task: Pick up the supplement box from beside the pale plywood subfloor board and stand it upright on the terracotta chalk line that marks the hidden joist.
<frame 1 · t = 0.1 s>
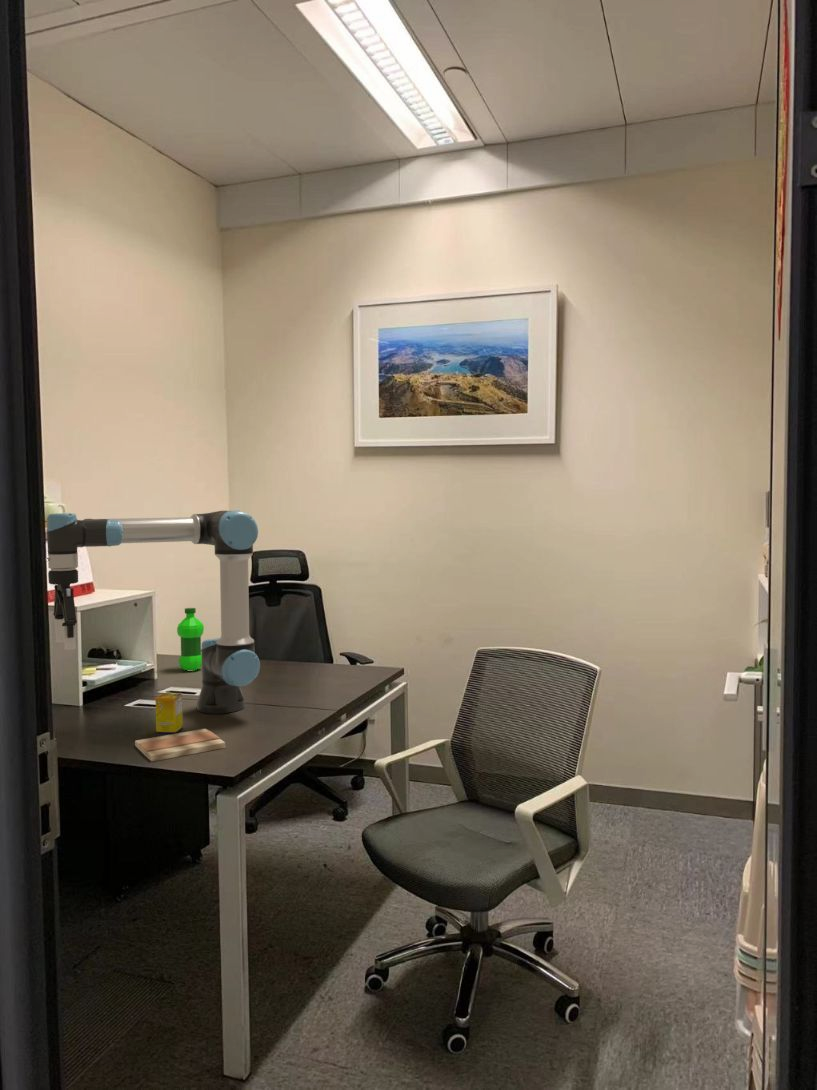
hand: (65, 645, 217), 28 cm above the table, fingers open, 13 cm apart
plastic bottle: (191, 670, 315), on the table
supplement box: (169, 732, 230), on the table
subfloor board: (180, 746, 216), on the table
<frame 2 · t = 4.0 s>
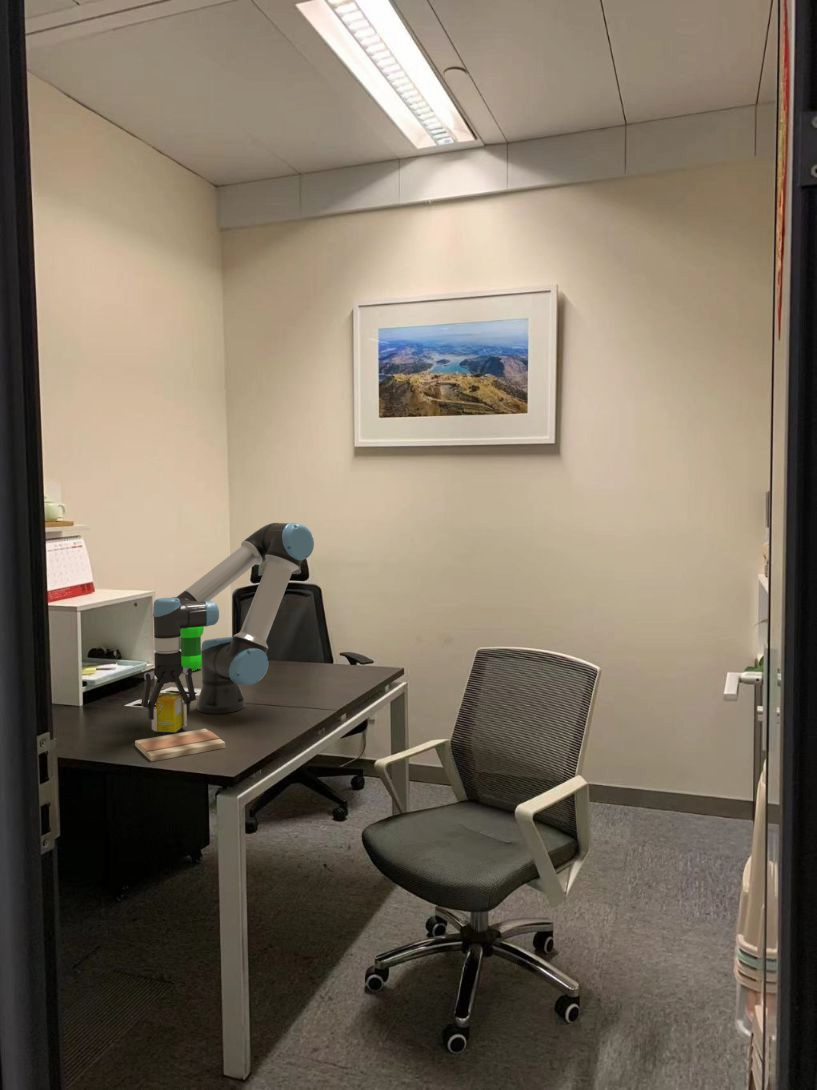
hand: (169, 727, 230), 1 cm above the table, fingers closed on supplement box, 8 cm apart
supplement box: (169, 732, 230), on the table, touching gripper
everything else where it was.
when the fingers open (4 cm above the table, at t = 9.9 s): supplement box drops 1 cm, resting on subfloor board.
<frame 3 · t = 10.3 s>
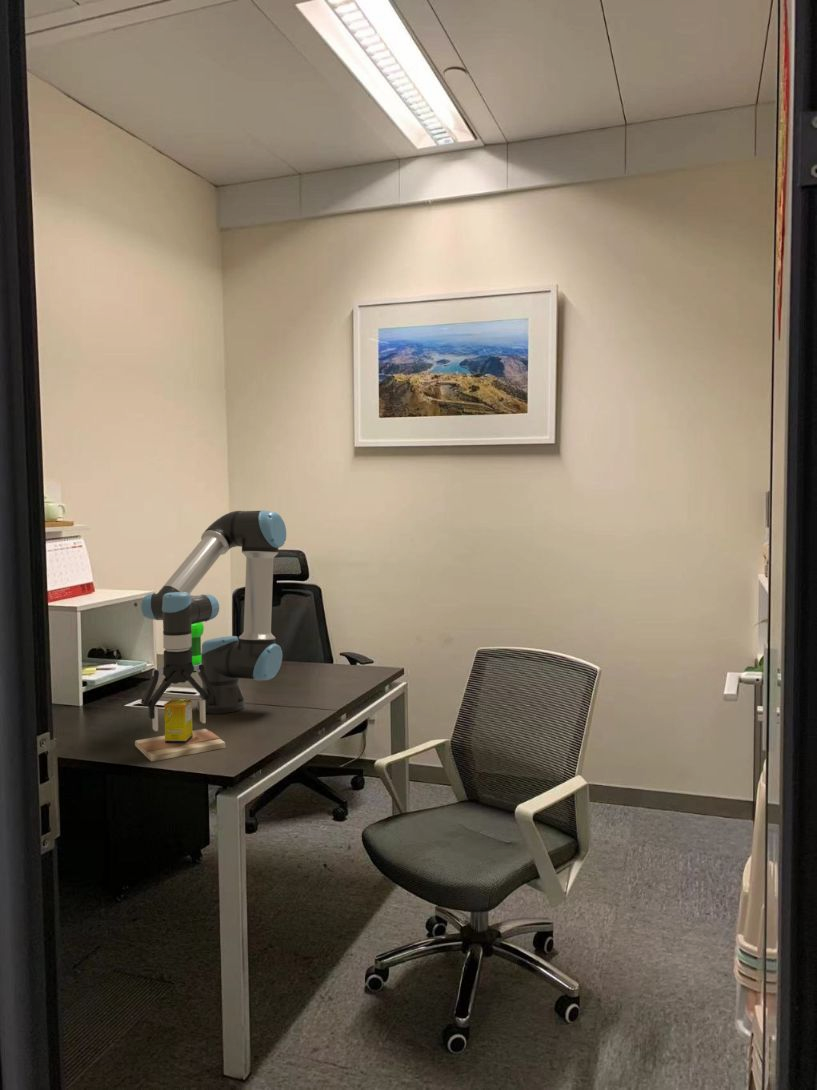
hand: (179, 726, 216), 6 cm above the table, fingers open, 12 cm apart
supplement box: (178, 741, 216), point 2 cm above the table, touching subfloor board
everything else where it was.
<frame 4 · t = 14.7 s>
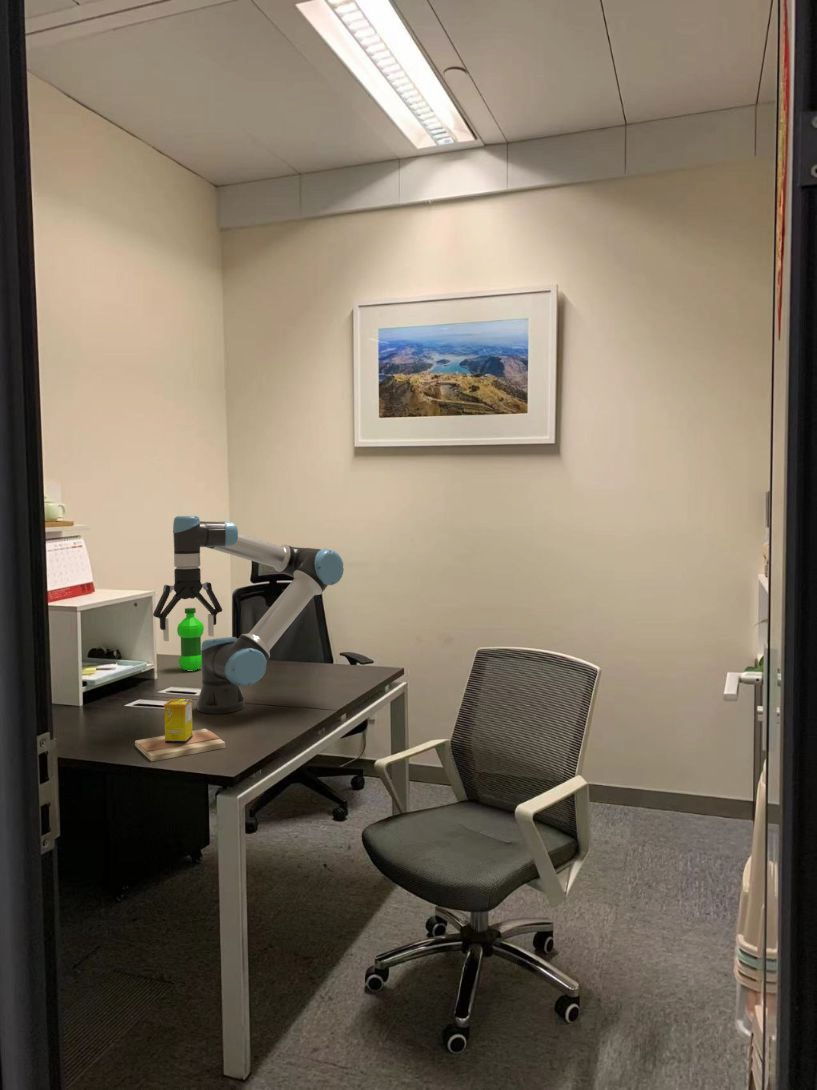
hand: (188, 638, 234), 27 cm above the table, fingers open, 13 cm apart
nothing on the table moved.
at the end: supplement box inside the target area on the subfloor board (0.3 cm from its centre), point 1.6 cm above the subfloor board's base; supplement box tilted 0°; the gripper is holding nothing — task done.
